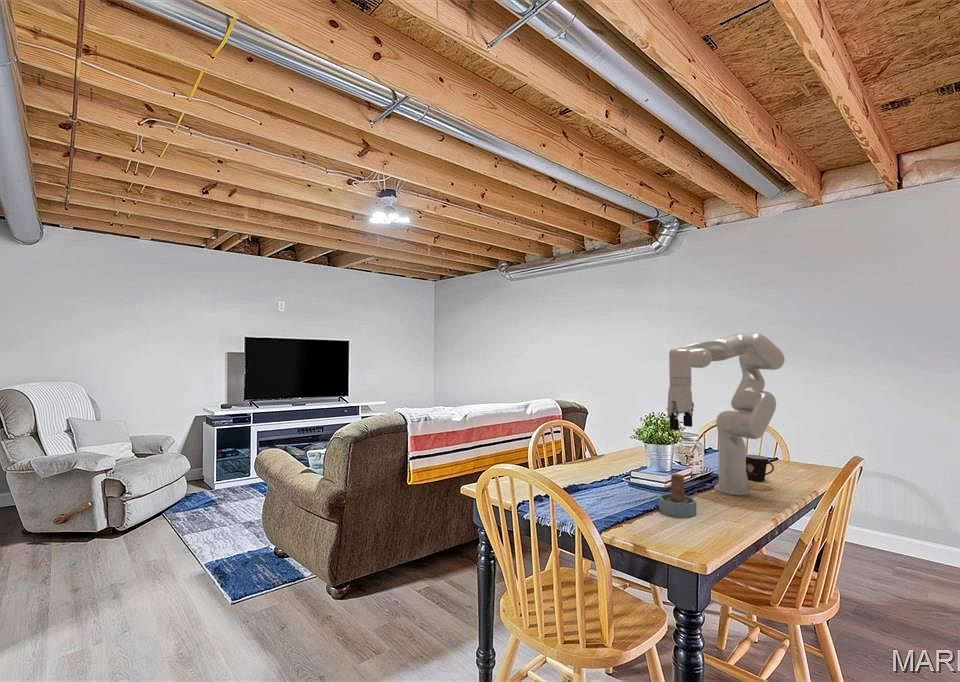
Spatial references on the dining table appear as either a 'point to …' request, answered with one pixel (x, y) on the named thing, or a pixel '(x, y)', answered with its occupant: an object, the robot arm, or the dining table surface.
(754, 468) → the coffee mug
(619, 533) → the dining table surface
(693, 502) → the octagonal socket dish
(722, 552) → the dining table surface
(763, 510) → the dining table surface
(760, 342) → the robot arm
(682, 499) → the wood grain block
